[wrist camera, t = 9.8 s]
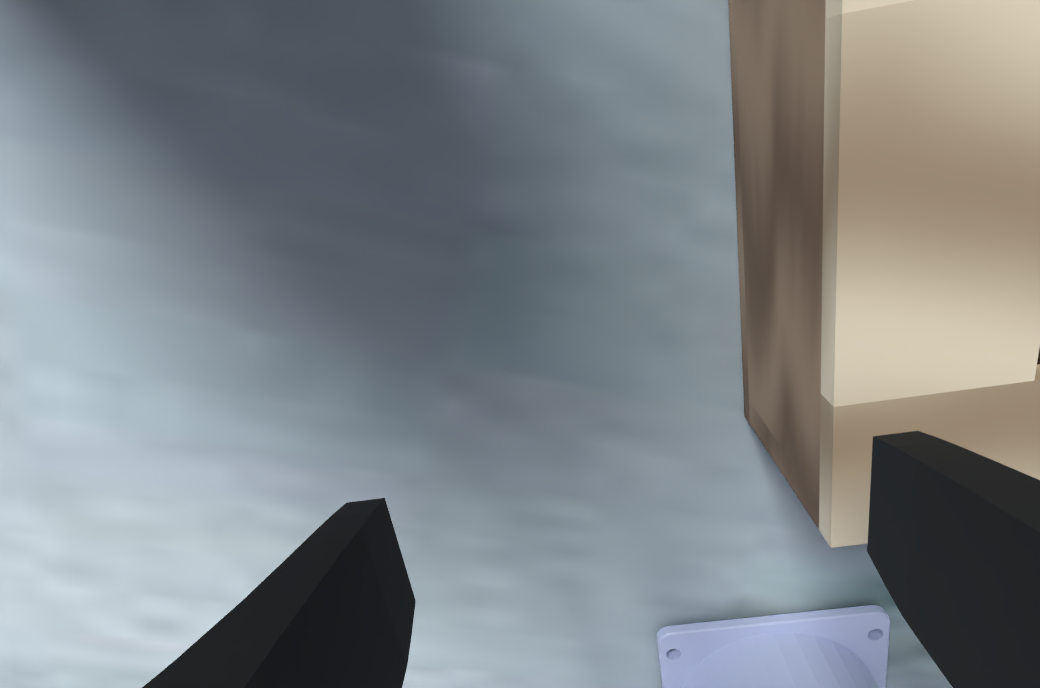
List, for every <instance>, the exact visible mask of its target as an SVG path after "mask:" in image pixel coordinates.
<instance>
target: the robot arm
mask: <svg viewBox="0 0 1040 688" xmlns="http://www.w3.org/2000/svg"><path fill="white" fill-rule="evenodd" d="M867 552H868V554H869V555H870V557H871V559H872V561H873V563H874V565H875V567H876V569H877V571H878V573H879V574H880V576H881V578H882V580H883V582H884V584H885V586H886V588H887V589H888V591H889V593H890V595H891V597H892V598H893V600H894V602H895V604H896V605H897V607H898V609H899V611H900V612H901V614H902V616H903V618H904V619H905V621H906V622H907V623H908V625H909V626H910V628H911V629H912V631H913V632H914V634H915V635H916V636H917V638H918V639H919V641H920V642H921V643H922V645H923V646H924V648H925V649H926V650H927V652H928V653H929V655H930V656H931V658H932V659H933V660H934V662H935V663H936V665H937V666H938V667H939V669H940V670H941V672H942V673H943V674H944V676H945V677H946V679H947V680H948V681H949V683H950V684H951V685H952V687H953V688H1040V480H1038V479H1036V478H1034V477H1031V476H1029V475H1027V474H1024V473H1022V472H1020V471H1017V470H1015V469H1013V468H1010V467H1008V466H1006V465H1003V464H1001V463H999V462H996V461H994V460H991V459H989V458H987V457H984V456H982V455H980V454H977V453H975V452H972V451H970V450H968V449H965V448H963V447H960V446H958V445H955V444H953V443H950V442H948V441H945V440H943V439H940V438H937V437H935V436H932V435H929V434H926V433H923V432H920V431H911V432H903V433H895V434H888V435H880V436H873V443H872V464H871V485H870V505H869V526H868V546H867ZM414 609H415V598H414V594H413V591H412V588H411V584H410V581H409V578H408V574H407V571H406V568H405V564H404V561H403V558H402V554H401V551H400V548H399V544H398V541H397V538H396V534H395V531H394V528H393V524H392V521H391V518H390V514H389V511H388V508H387V504H386V501H385V498H381V499H373V500H365V501H357V502H349V503H346V504H345V505H343V506H342V507H341V508H340V509H339V510H338V511H336V512H335V513H334V514H333V515H332V516H331V517H330V518H329V519H328V520H327V521H325V522H324V523H323V524H322V525H321V526H320V527H319V528H318V529H317V530H316V531H315V532H314V533H313V534H312V535H311V536H310V537H309V538H308V539H307V540H306V541H304V542H303V543H302V544H301V545H300V546H299V547H298V548H297V549H296V550H295V551H294V552H293V553H292V554H291V555H290V556H289V557H288V558H287V559H286V560H285V561H284V562H283V563H282V564H281V565H280V566H279V567H277V568H276V569H275V570H274V571H273V572H272V573H271V574H270V575H269V576H268V577H267V578H266V579H265V580H264V581H263V582H262V583H261V584H260V585H259V586H258V587H256V588H255V589H254V590H253V591H252V592H251V593H250V594H249V595H248V596H247V597H246V598H245V599H244V600H243V601H242V602H241V603H239V604H238V605H237V606H236V607H235V608H234V609H233V610H232V611H230V612H229V613H228V614H227V615H226V616H225V617H224V618H223V619H221V620H220V621H219V622H218V623H217V624H216V625H215V626H214V627H212V628H211V629H210V630H209V631H208V632H207V633H206V634H204V635H203V636H202V637H201V638H200V639H199V640H198V641H197V642H195V643H194V644H193V645H192V646H191V647H190V648H189V649H188V650H186V651H185V652H184V653H183V654H182V655H181V656H180V657H179V658H177V659H176V660H175V661H174V662H173V663H172V664H170V665H169V666H168V667H167V668H166V669H164V670H163V671H162V672H161V673H160V674H158V675H157V676H156V677H155V678H153V679H152V680H151V681H150V682H149V683H147V684H146V685H145V686H144V687H142V688H402V685H403V681H404V676H405V672H406V668H407V662H408V655H409V648H410V641H411V634H412V626H413V617H414ZM871 630H872V631H871ZM889 633H890V617H889V616H888V614H887V613H886V611H885V610H884V609H883V608H882V607H880V606H878V605H867V606H857V607H847V608H837V609H828V610H818V611H808V612H798V613H789V614H779V615H769V616H759V617H750V618H740V619H730V620H720V621H710V622H701V623H691V624H681V625H671V626H666V627H663V628H662V629H660V630H659V632H658V633H657V637H656V638H657V646H658V655H659V664H660V672H661V681H662V688H886V676H887V662H888V648H889ZM671 649H675V650H672V651H670V650H671Z"/></svg>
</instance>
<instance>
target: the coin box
mask: <svg viewBox="0 0 1040 688" xmlns="http://www.w3.org/2000/svg"><path fill="white" fill-rule="evenodd" d="M728 2H729V28H730V53H731V79H732V105H733V130H734V156H735V182H736V207H737V233H738V259H739V284H740V310H741V336H742V362H743V387H744V413H745V418H746V419H747V421H748V422H749V424H750V425H751V427H752V428H753V430H754V431H755V433H756V434H757V436H758V437H759V439H760V440H761V442H762V444H763V445H764V447H765V448H766V450H767V451H768V453H769V454H770V456H771V457H772V459H773V460H774V462H775V463H776V465H777V466H778V468H779V469H780V471H781V473H782V474H783V476H784V477H785V479H786V480H787V482H788V483H789V485H790V486H791V488H792V489H793V491H794V492H795V494H796V495H797V497H798V499H799V500H800V502H801V503H802V505H803V506H804V508H805V509H806V511H807V512H808V514H809V515H810V517H811V518H812V520H813V521H814V523H815V524H816V526H817V528H818V529H819V531H820V532H821V534H822V535H823V537H824V538H825V540H826V541H827V543H828V544H829V546H830V547H831V548H833V547H842V546H851V545H860V544H868V526H869V505H870V485H871V464H872V443H873V436H880V435H888V434H895V433H903V432H911V431H920V432H923V433H926V434H929V435H932V436H935V437H937V438H940V439H943V440H945V441H948V442H950V443H953V444H955V445H958V446H960V447H963V448H965V449H968V450H970V451H972V452H975V453H977V454H980V455H982V456H984V457H987V458H989V459H991V460H994V461H996V462H999V463H1001V464H1003V465H1006V466H1008V467H1010V468H1013V469H1015V470H1017V471H1020V472H1022V473H1024V474H1027V475H1029V476H1031V477H1034V478H1036V479H1038V480H1040V0H728Z"/></svg>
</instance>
